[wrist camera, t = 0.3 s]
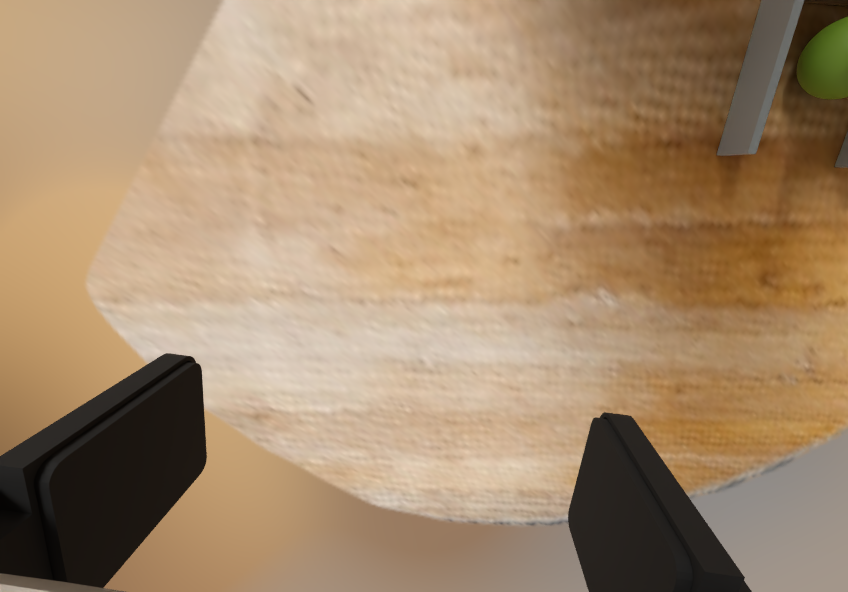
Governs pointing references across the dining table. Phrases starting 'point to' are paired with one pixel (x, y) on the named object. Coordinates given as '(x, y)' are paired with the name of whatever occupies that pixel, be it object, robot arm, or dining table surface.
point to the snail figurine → (826, 62)
